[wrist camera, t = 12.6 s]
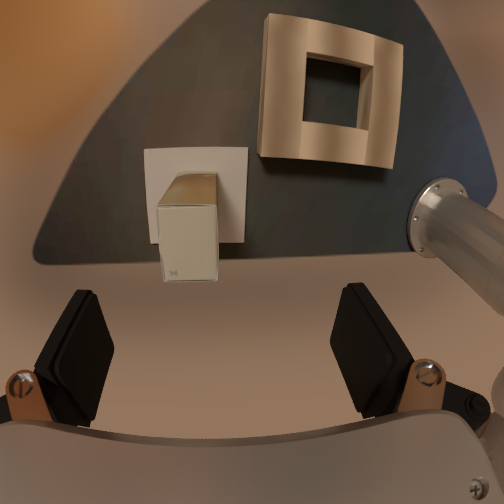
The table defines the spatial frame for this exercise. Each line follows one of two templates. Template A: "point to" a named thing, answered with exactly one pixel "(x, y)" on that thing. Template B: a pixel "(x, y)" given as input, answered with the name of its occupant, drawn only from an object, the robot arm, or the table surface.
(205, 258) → the skincare box
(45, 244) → the table surface
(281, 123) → the holder
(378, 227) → the table surface
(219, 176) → the mat
